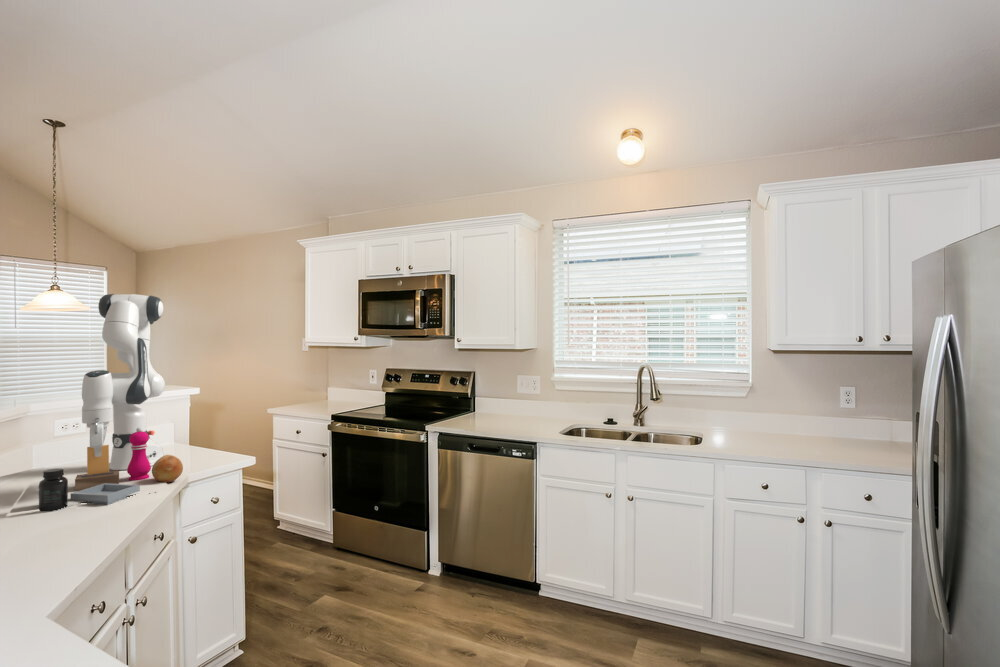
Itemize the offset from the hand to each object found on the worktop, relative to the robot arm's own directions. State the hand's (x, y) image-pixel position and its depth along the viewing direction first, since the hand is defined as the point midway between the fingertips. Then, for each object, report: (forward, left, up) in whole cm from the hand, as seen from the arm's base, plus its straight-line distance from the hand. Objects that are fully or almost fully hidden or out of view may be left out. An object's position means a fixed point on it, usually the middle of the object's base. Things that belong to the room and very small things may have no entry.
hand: (98, 455), depth 183 cm
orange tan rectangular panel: (0, 0, -7) cm, 7 cm away
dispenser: (0, 0, -12) cm, 12 cm away
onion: (-11, +18, -12) cm, 24 cm away
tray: (+9, +13, -12) cm, 20 cm away
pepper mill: (-11, +6, -12) cm, 17 cm away
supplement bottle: (+21, +6, -12) cm, 25 cm away
